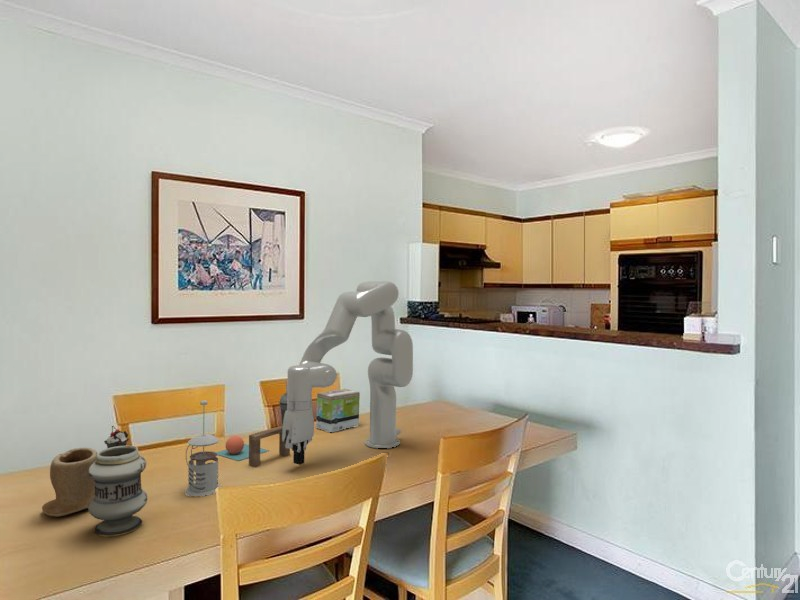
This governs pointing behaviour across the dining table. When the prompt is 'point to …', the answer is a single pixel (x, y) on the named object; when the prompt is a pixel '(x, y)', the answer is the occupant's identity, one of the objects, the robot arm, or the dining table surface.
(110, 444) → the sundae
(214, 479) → the french press
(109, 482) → the apothecary jar
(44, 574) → the dining table surface
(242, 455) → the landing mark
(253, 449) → the bridge
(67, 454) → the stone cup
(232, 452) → the ball
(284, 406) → the beverage cup
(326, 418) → the tea box
